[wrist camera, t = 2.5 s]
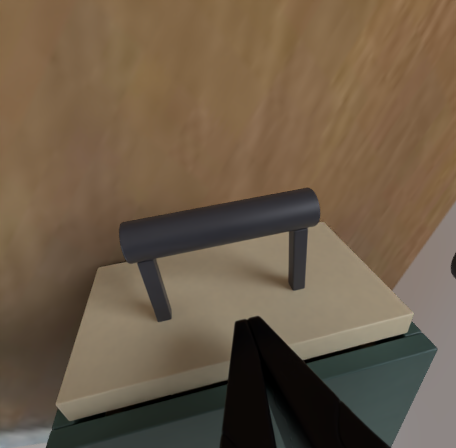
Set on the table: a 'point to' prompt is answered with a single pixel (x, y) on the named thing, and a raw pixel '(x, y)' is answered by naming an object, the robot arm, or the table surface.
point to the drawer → (219, 301)
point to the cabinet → (215, 402)
